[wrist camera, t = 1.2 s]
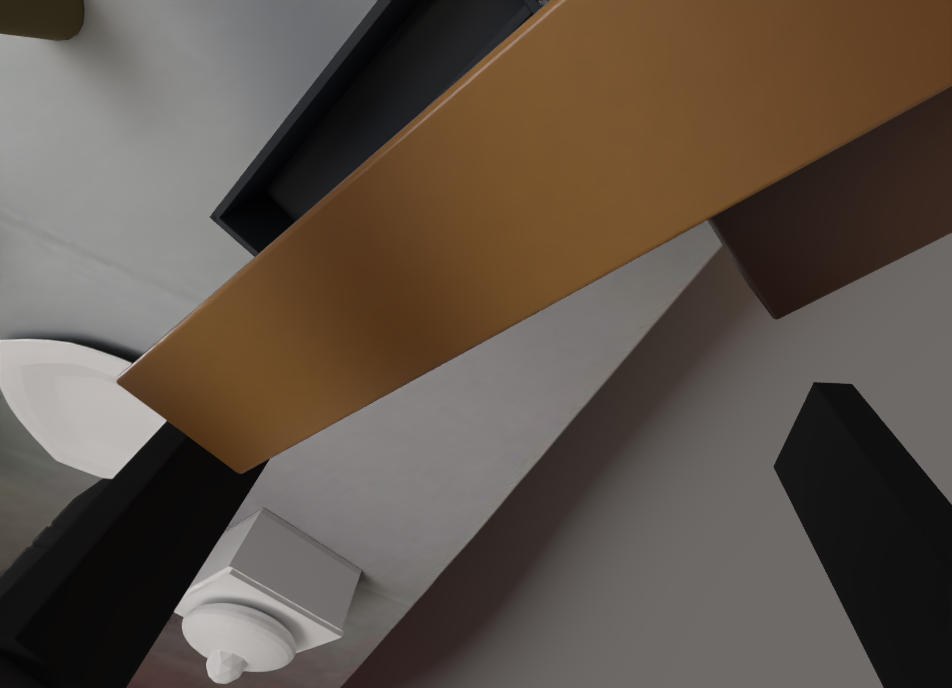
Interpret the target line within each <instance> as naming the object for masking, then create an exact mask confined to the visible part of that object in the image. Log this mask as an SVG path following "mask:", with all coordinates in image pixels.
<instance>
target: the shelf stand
mask: <svg viewBox="0 0 952 688" xmlns="http://www.w3.org/2000/svg"><path fill="white" fill-rule="evenodd" d="M707 221H708V223H709V224H710V226H711V227H712V229H713V230H714V232H715V234H716V235H717V237H718V238H719V240H720V241H721V243H722V244H723V246H724V248H725V249H726V250H727V252H728V254H729V255H730V257H731V258H732V260H733V262H734V263H735V265H736V266H737V268H738V269H739V271H740V273H741V274H742V276H743V277H744V279H745V280H746V282H747V283H748V285H749V286H750V288H751V289H752V290H753V292H754V293H755V294H756V296H757V297H758V298H759V300H760V301H761V302H762V304H763V305H764V307H765V308H766V309H767V311H768V312H769V313H770V315H771V316H772V317H773V318H774V319H779V318H781V317H783V316H785V315H787V314H789V313H791V312H793V311H795V310H798V309H800V308H801V307H803V306H806V305H807V304H809V303H812V302H814V301H816V300H818V299H820V298H821V297H824V296H826V295H828V294H830V293H832V292H834V291H836V290H837V289H840V288H842V287H844V286H846V285H848V284H850V283H852V282H854V281H856V280H858V279H860V278H862V277H864V276H866V275H868V274H870V273H872V272H874V271H875V270H878V269H880V268H882V267H884V266H886V265H888V264H890V263H892V262H894V261H896V260H898V259H900V258H902V257H904V256H906V255H908V254H910V253H912V252H914V251H916V250H918V249H920V248H922V247H924V246H926V245H928V244H930V243H932V242H934V241H936V240H938V239H940V238H942V237H944V236H946V235H948V234H950V233H952V86H951V87H949V88H948V89H946V90H944V91H942V92H940V93H938V94H937V95H935V96H933V97H931V98H929V99H927V100H926V101H924V102H922V103H920V104H918V105H916V106H915V107H913V108H911V109H909V110H907V111H905V112H904V113H902V114H900V115H898V116H896V117H895V118H893V119H891V120H889V121H887V122H885V123H884V124H882V125H880V126H878V127H876V128H874V129H873V130H871V131H869V132H867V133H865V134H863V135H862V136H860V137H858V138H856V139H854V140H852V141H851V142H849V143H847V144H845V145H843V146H841V147H840V148H838V149H836V150H834V151H832V152H830V153H829V154H827V155H825V156H823V157H821V158H819V159H818V160H816V161H814V162H812V163H810V164H808V165H807V166H805V167H803V168H801V169H799V170H797V171H796V172H794V173H792V174H790V175H788V176H786V177H785V178H783V179H781V180H779V181H777V182H775V183H774V184H772V185H770V186H768V187H766V188H764V189H763V190H761V191H759V192H757V193H755V194H753V195H752V196H750V197H748V198H746V199H744V200H743V201H741V202H739V203H737V204H735V205H733V206H732V207H730V208H728V209H726V210H724V211H722V212H721V213H719V214H717V215H715V216H713V217H711V218H710V219H708V220H707Z"/></svg>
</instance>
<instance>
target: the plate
mask: <svg viewBox="0 0 952 688" xmlns="http://www.w3.org/2000/svg"><path fill="white" fill-rule="evenodd" d="M133 363H134V362H131V361H129V360H126V359H124V358H121V357H119V356H116V355H113V354H110V353H107V352H104V351H101V350H98V349H95V348H92V347H88V346H85V345H81V344H77V343H74V342H67V341H60V340H52V339H5V340H0V388H1V391H2V393H3V395H4V397H5V399H6V401H7V403H8V405H9V406H10V408H11V409H12V411H13V412H14V414H15V415H16V416H17V418H18V419H19V420H20V421H21V423H22V424H23V425H24V426H25V428H26V429H27V430H28V431H29V432H30V434H31V435H32V436H33V437H34V438H35V439H36V440H37V441H38V442H39V443H40V444H41V445H42V446H43V448H44V449H45V450H46V451H47V452H48V453H49V454H50V455H51V456H52V457H53V458H54V459H55V460H56V461H58V462H61V463H63V464H66V465H68V466H71V467H74V468H76V469H79V470H82V471H85V472H87V473H90V474H93V475H96V476H99V477H102V478H109V479H113V477H114V476H115V475H116V474H117V473H118V472H119V471H120V470H121V469H122V468H123V467H124V466H125V465H126V464H127V463H128V462H129V460H130V459H131V458H132V457H133V456H134V455H135V454H136V453H137V452H138V451H139V450H140V449H141V448H142V447H143V446H144V445H145V443H146V442H147V441H148V440H149V439H150V438H151V437H152V436H153V435H154V434H155V433H156V432H157V431H158V430H159V429H160V428H161V427H162V425H163V424H164V423H165V422H166V421H167V420H165V419H164V418H163V417H161V416H160V415H159V414H157V413H156V412H155V411H153V410H152V409H151V408H149V407H148V406H147V405H145V404H144V403H143V402H141V401H140V400H138V399H137V398H136V397H134V396H133V395H132V394H130V393H129V392H128V391H126V390H125V389H124V388H122V387H121V386H120V385H118V384H117V382H116V380H117V377H118V376H119V375H120V374H121V373H122V372H123V371H125V370H126V369H127V368H128V367H129V366H130V365H131V364H133Z"/></svg>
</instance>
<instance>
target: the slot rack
mask: <svg viewBox="0 0 952 688" xmlns="http://www.w3.org/2000/svg"><path fill="white" fill-rule="evenodd" d="M541 8H542V7H541V5H540V4H539V2H538V1H537V0H378V1H377V2H376V3H375V5H374V6H373V7H372V9H371V10H370V11H369V13H368V14H367V15H366V16H365V18H364V19H363V20H362V22H361V23H360V24H359V25H358V27H357V28H356V29H355V31H354V32H353V33H352V34H351V36H350V37H349V38H348V40H347V41H346V42H345V43H344V45H343V46H342V47H341V49H340V50H339V51H338V52H337V54H336V55H335V56H334V58H333V59H332V60H331V61H330V63H329V64H328V65H327V67H326V68H325V69H324V70H323V72H322V73H321V74H320V76H319V77H318V78H317V79H316V81H315V82H314V83H313V85H312V86H311V87H310V88H309V90H308V91H307V92H306V94H305V95H304V96H303V97H302V99H301V100H300V101H299V103H298V104H297V105H296V106H295V108H294V109H293V110H292V112H291V113H290V114H289V115H288V117H287V118H286V119H285V121H284V122H283V123H282V124H281V126H280V127H279V128H278V130H277V131H276V132H275V133H274V135H273V136H272V137H271V139H270V140H269V141H268V142H267V144H266V145H265V146H264V148H263V149H262V150H261V151H260V153H259V154H258V155H257V157H256V158H255V159H254V160H253V162H252V163H251V164H250V166H249V167H248V168H247V169H246V171H245V172H244V173H243V175H242V176H241V177H240V178H239V180H238V181H237V182H236V184H235V185H234V186H233V187H232V189H231V190H230V191H229V193H228V194H227V195H226V196H225V198H224V199H223V200H222V202H221V203H220V204H219V205H218V207H217V208H216V209H215V211H214V212H213V213H212V214H211V216H210V218H211V219H212V220H213V221H214V222H216V223H217V224H218V225H219V226H220V227H221V228H222V229H224V230H225V231H226V232H227V233H228V234H229V235H230V236H232V237H233V238H234V239H235V240H236V241H237V242H238V243H240V244H241V245H242V246H243V247H244V248H245V249H246V250H248V251H249V252H250V253H251V254H252V255H253V256H254V257H256V256H257V255H258V254H259V253H260V252H261V251H262V250H264V249H265V248H266V247H267V246H268V245H269V244H271V243H272V242H273V241H274V240H275V239H276V238H277V237H279V236H280V235H281V234H282V233H283V232H284V231H285V230H287V229H288V228H289V227H290V226H291V225H292V224H294V223H295V222H296V221H297V220H298V219H299V218H300V217H302V216H303V215H304V214H305V213H306V212H307V211H308V210H310V209H311V208H312V207H313V206H314V205H315V204H316V203H318V202H319V201H320V200H321V199H322V198H323V197H325V196H326V195H327V194H328V193H329V192H330V191H331V190H333V189H334V188H335V187H336V186H337V185H338V184H339V183H341V182H342V181H343V180H344V179H345V178H346V177H348V176H349V175H350V174H351V173H352V172H353V171H354V170H356V169H357V168H358V167H359V166H360V165H361V164H362V163H364V162H365V161H366V160H367V159H368V158H369V157H371V156H372V155H373V154H374V153H375V152H376V151H377V150H379V149H380V148H381V147H382V146H383V145H384V144H385V143H387V142H388V141H389V140H390V139H391V138H392V137H393V136H395V135H396V134H397V133H398V132H399V131H400V130H402V129H403V128H404V127H405V126H406V125H407V124H408V123H410V122H411V121H412V120H413V119H414V118H415V117H416V116H418V115H419V114H420V113H421V112H422V111H423V110H425V109H426V108H427V107H428V106H429V105H430V104H431V103H433V102H434V101H435V100H436V99H437V98H438V97H439V96H441V95H442V94H443V93H444V92H445V91H446V90H448V89H449V88H450V87H451V86H452V85H453V84H454V83H456V82H457V81H458V80H459V79H460V78H461V77H462V76H464V75H465V74H466V73H467V72H468V71H469V70H470V69H472V68H473V67H474V66H475V65H476V64H477V63H479V62H480V61H481V60H482V59H483V58H484V57H485V56H487V55H488V54H489V53H490V52H491V51H492V50H493V49H495V48H496V47H497V46H498V45H499V44H500V43H502V42H503V41H504V40H505V39H506V38H507V37H508V36H510V35H511V34H512V33H513V32H514V31H515V30H516V29H518V28H519V27H520V26H521V25H522V24H523V23H525V22H526V21H527V20H528V19H529V18H530V17H531V16H533V15H534V14H535V13H536V12H537V11H538V10H539V9H541Z"/></svg>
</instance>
